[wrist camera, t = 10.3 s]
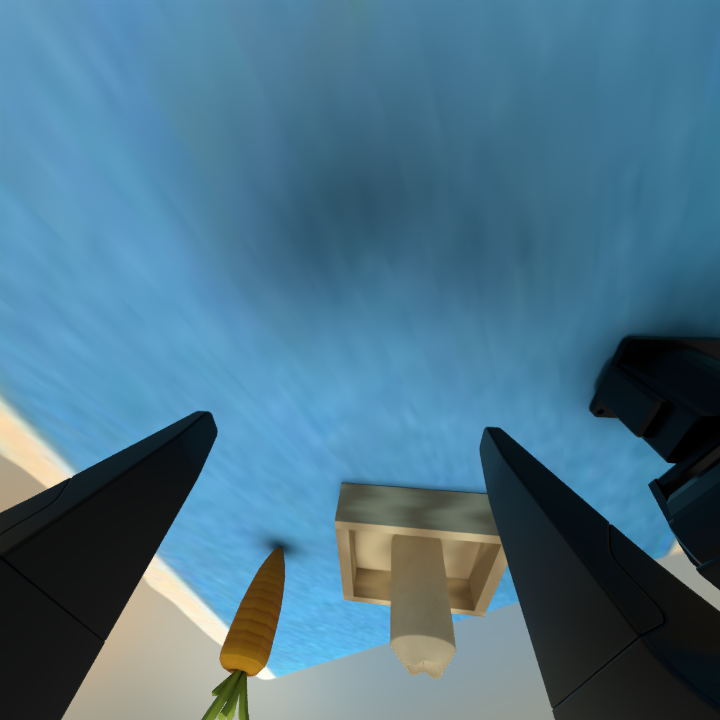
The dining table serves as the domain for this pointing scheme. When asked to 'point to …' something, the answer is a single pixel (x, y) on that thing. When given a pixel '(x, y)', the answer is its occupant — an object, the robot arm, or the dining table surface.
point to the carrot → (250, 638)
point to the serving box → (425, 519)
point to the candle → (420, 606)
